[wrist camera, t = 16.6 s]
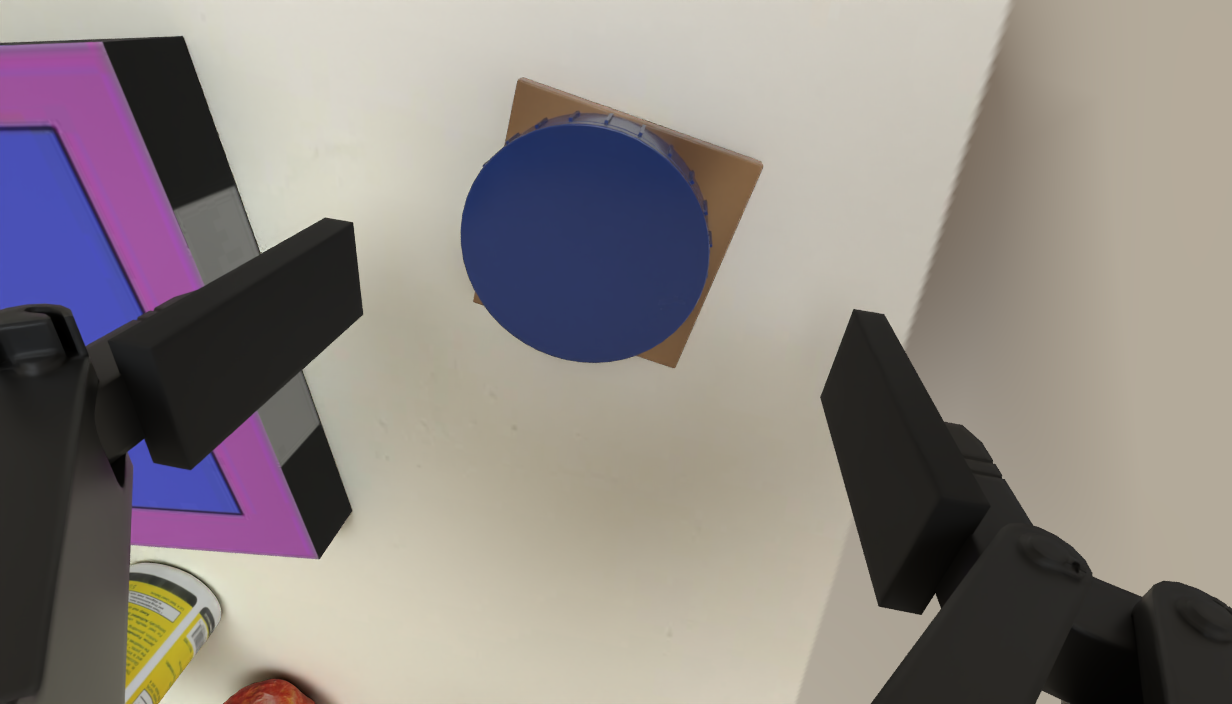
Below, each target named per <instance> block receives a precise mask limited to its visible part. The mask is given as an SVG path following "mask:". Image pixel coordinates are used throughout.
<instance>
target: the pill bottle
mask: <svg viewBox="0 0 1232 704" xmlns="http://www.w3.org/2000/svg"><path fill="white" fill-rule="evenodd" d="M220 619H221V607H220V604H219V602H218V600H217V598H216V597H215V595H214V594H213V593H212V591H211V590H210V589H209V588H208V587H207V586H206V585H204V584H203V583H202V582H201V581H200V580H198V579H197V578H195V577H194V576H192V575H190V574H189V573H187V572H184V571H182V570H180V569H177V568H174V567H170V566H167V565H163V564H156V563H139V564H134V565H131V566H130V573H129V600H128V627H127V654H126V682H125V704H158V703H159V702H160V700H161V699H162V698H163V697H164V695H165V694H166V693H167V691H168V690H169V689H170V687H171V686H172V685H173V683H174V682H175V681H176V679H177V678H178V677H179V675H180V674H181V673H182V671H183V670H184V669H185V668H186V666H187V665H188V664H189V662H190V661H191V660H192V659H193V657H194V656H195V655H196V653H197V652H198V651H199V649H200V648H201V647H202V645H203V644H204V643H205V642H206V640H207V639H208V638H209V636H210V635H211V633H212V632H213V631H214V629H215V628H216V626H217V625H218V623H219V621H220Z"/></svg>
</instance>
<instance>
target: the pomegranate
mask: <svg viewBox="0 0 1232 704" xmlns="http://www.w3.org/2000/svg"><path fill="white" fill-rule="evenodd" d="M223 704H315V702H314V701H313V700H312V699H310V698H309V697H307V696H305V695H304V694H303V693H301V692H300V691H299V689H298V688H296V687H295V686H294V685H292V684H291V683H290V682H288V681H285V680H282V679H274V678H273V679H268V680H265V681H262V682H256V683H253V684H251V685H248V686H246V687H244V688H242V689H240V690H239V691H238V692H237V693H235V694H234V695H232V696H231V697H230V698H229V699H228V700H227V701H226V702H224V703H223Z"/></svg>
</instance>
